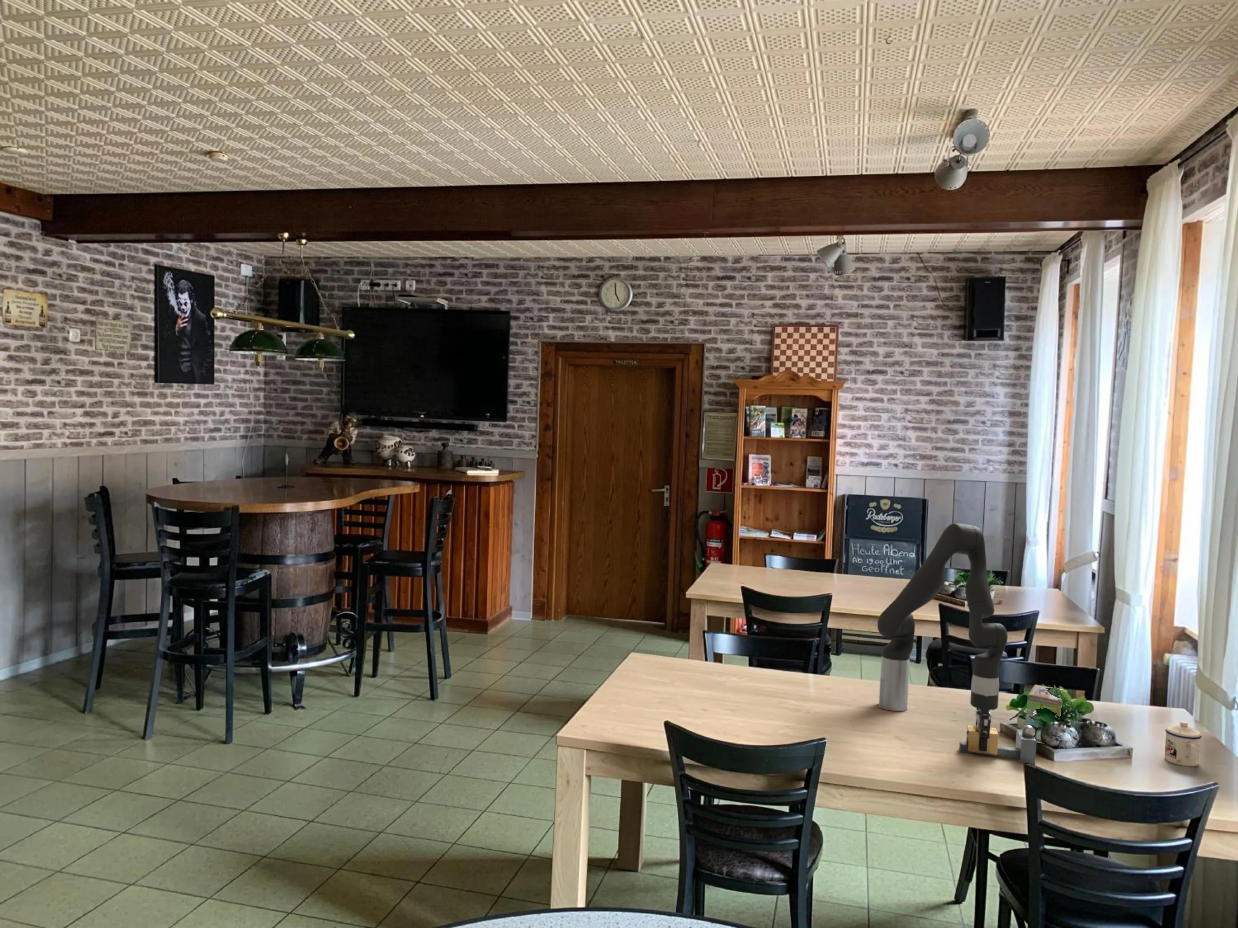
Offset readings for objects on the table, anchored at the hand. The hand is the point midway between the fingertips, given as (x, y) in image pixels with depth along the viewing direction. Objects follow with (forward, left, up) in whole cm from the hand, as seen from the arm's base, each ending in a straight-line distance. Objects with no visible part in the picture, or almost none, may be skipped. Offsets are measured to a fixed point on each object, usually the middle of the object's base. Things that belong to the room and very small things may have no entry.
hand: (981, 746), depth 275 cm
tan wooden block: (0, 0, -1) cm, 1 cm away
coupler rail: (+4, 0, -2) cm, 5 cm away
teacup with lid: (+57, +13, -2) cm, 59 cm away
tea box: (+21, +22, -2) cm, 31 cm away
